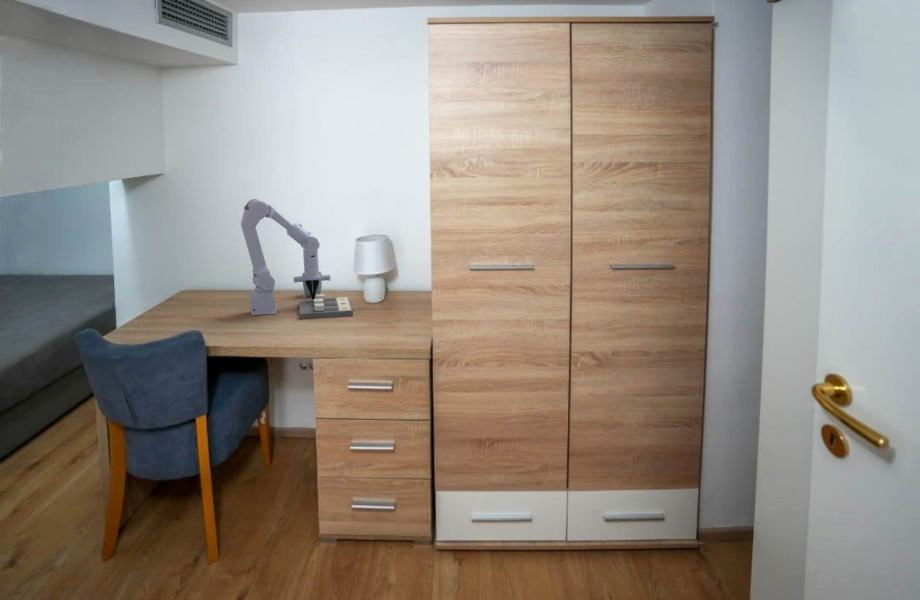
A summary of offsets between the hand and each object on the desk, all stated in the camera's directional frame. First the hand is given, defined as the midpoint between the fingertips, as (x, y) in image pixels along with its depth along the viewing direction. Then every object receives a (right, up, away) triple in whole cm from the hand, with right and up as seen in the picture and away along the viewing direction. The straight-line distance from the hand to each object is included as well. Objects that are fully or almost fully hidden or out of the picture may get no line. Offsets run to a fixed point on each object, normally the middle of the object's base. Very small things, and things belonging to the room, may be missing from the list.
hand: (313, 298), depth 327 cm
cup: (-3, +1, +18) cm, 18 cm away
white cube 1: (+5, -4, -15) cm, 16 cm away
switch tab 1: (+3, -1, +1) cm, 3 cm away
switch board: (+6, -4, -6) cm, 10 cm away
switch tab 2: (+3, -2, -7) cm, 8 cm away
